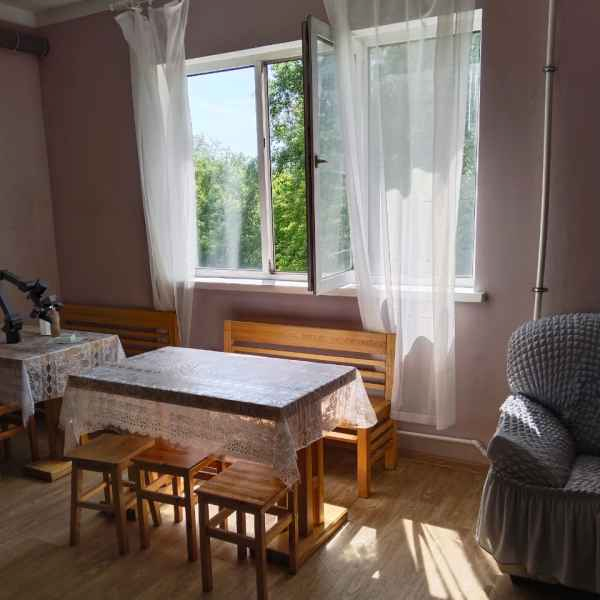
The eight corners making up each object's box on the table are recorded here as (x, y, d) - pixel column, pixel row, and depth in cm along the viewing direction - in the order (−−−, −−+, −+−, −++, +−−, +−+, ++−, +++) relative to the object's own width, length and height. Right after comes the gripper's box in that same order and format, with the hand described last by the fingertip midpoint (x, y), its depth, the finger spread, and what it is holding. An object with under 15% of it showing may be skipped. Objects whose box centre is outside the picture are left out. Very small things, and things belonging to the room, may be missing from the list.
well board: (44, 344, 332) (44, 339, 331) (51, 339, 343) (51, 334, 343) (79, 343, 333) (78, 338, 332) (85, 337, 345) (84, 332, 344)
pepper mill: (50, 337, 322) (47, 310, 319) (52, 335, 326) (49, 308, 324) (59, 337, 322) (56, 309, 320) (61, 335, 327) (58, 308, 324)
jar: (42, 336, 349) (40, 315, 347) (39, 334, 356) (37, 313, 354) (59, 334, 354) (57, 313, 352) (56, 331, 361) (54, 311, 358)
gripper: (31, 293, 313) (49, 316, 311) (59, 287, 330) (77, 309, 327) (21, 307, 318) (39, 330, 315) (49, 300, 334) (67, 322, 332)
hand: (56, 322), depth 322 cm, fingers closed on pepper mill, 5 cm apart
